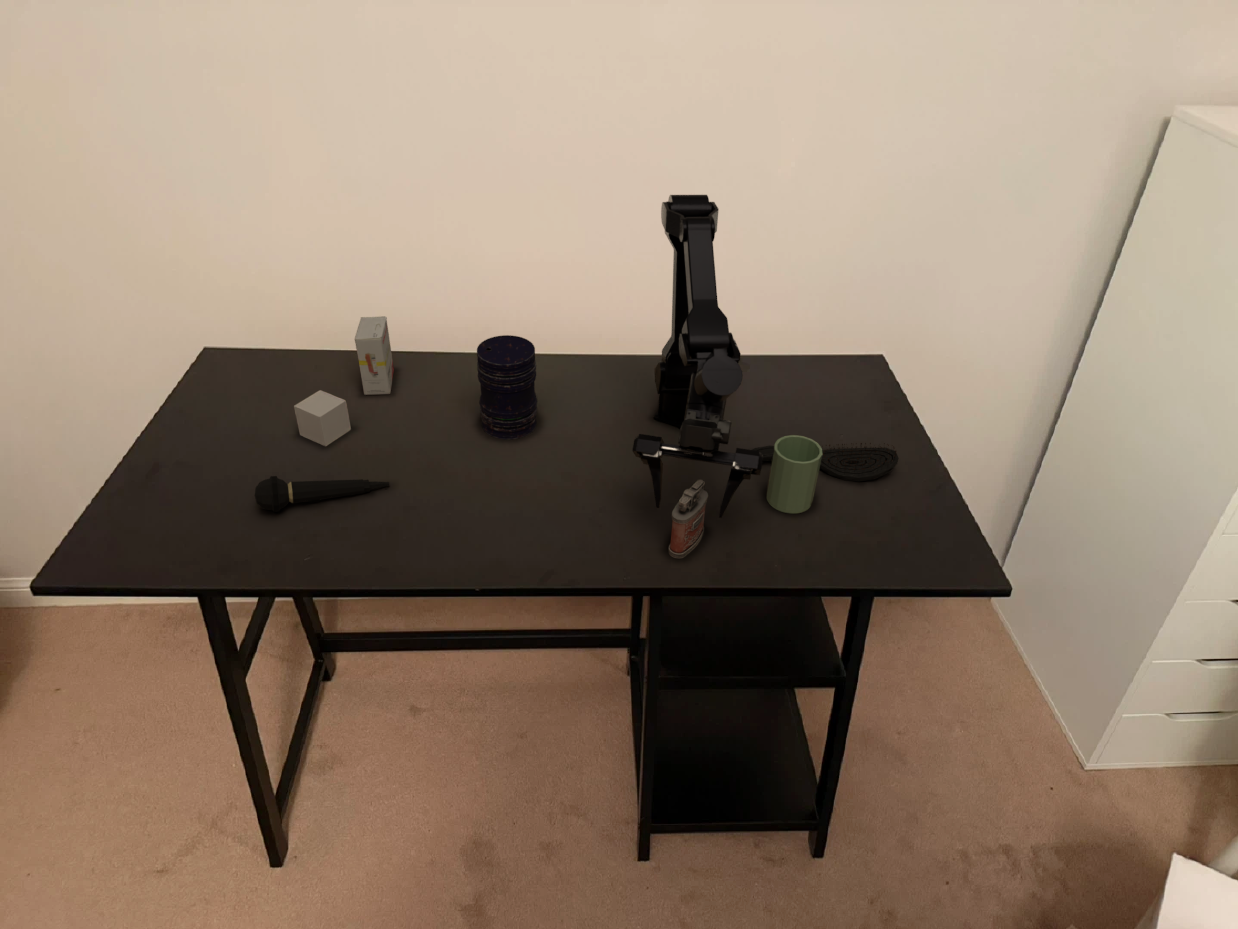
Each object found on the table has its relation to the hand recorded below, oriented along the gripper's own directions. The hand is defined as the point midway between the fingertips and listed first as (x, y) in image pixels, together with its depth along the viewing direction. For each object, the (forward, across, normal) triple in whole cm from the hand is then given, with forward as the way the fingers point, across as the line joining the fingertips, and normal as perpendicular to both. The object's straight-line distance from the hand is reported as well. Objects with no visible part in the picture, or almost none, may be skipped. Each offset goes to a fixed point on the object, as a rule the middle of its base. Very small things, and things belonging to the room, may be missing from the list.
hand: (688, 512), depth 135 cm
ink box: (-17, -62, +27) cm, 70 cm away
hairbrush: (-14, +19, +23) cm, 33 cm away
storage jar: (-13, -35, +22) cm, 43 cm away
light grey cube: (-5, -65, +15) cm, 67 cm away
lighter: (+4, 0, +6) cm, 7 cm away
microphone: (+7, -57, +3) cm, 57 cm away
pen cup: (-6, +15, +16) cm, 22 cm away
